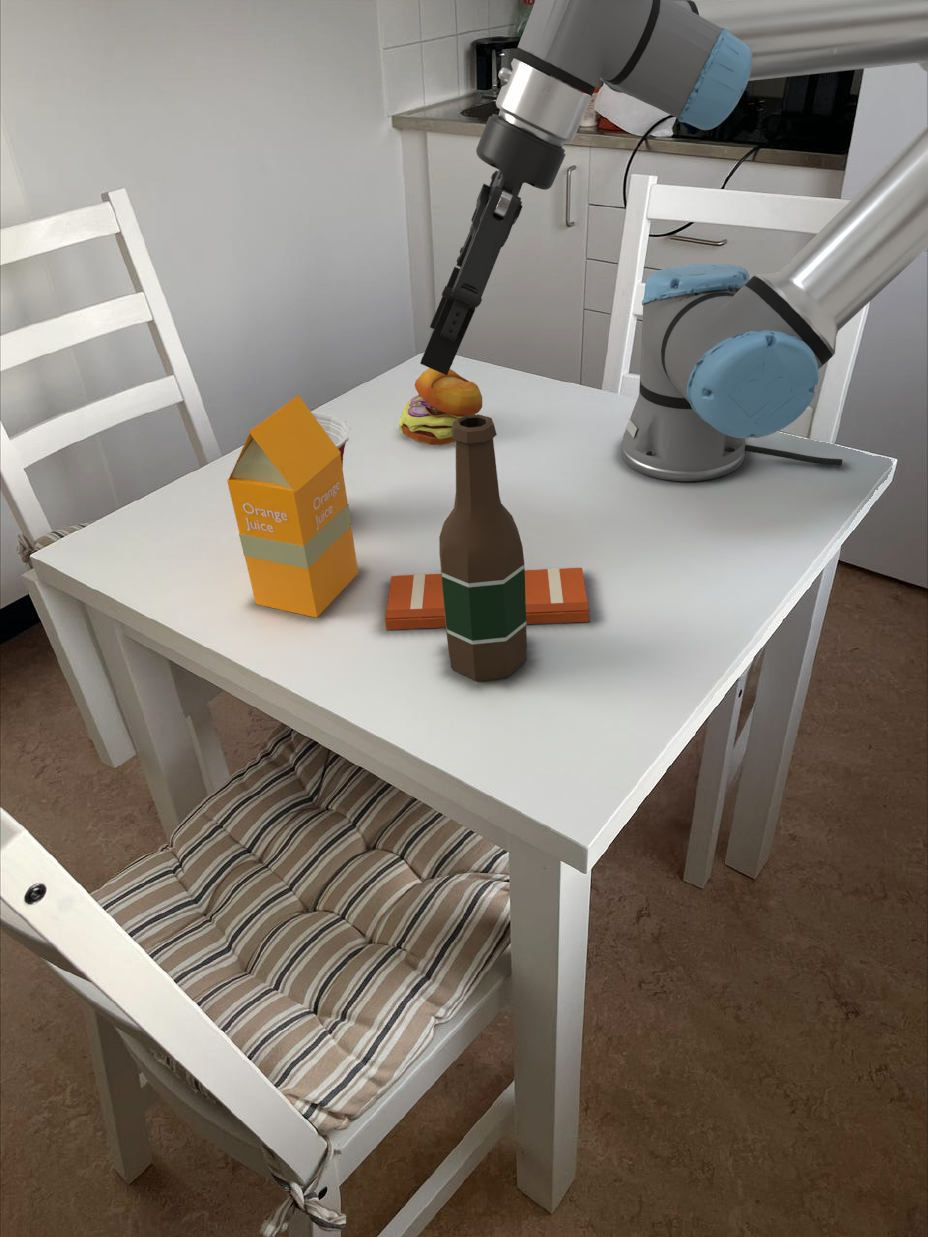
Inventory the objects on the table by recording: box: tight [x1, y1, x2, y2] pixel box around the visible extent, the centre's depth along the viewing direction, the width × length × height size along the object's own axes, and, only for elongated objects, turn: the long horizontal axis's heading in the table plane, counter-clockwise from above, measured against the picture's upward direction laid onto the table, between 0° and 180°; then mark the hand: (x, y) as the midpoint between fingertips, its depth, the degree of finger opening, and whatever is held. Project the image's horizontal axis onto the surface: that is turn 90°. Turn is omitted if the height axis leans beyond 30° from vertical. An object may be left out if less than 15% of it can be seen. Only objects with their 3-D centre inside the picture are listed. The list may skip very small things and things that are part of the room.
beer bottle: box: [438, 413, 528, 682], centre depth 82 cm, size 8×8×24 cm
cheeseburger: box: [398, 367, 483, 446], centre depth 128 cm, size 10×11×10 cm
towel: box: [384, 567, 590, 631], centre depth 96 cm, size 20×8×1 cm, turn 89°
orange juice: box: [226, 395, 359, 618], centre depth 95 cm, size 8×9×20 cm
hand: (437, 349), depth 94 cm, fingers open, 13 cm apart
